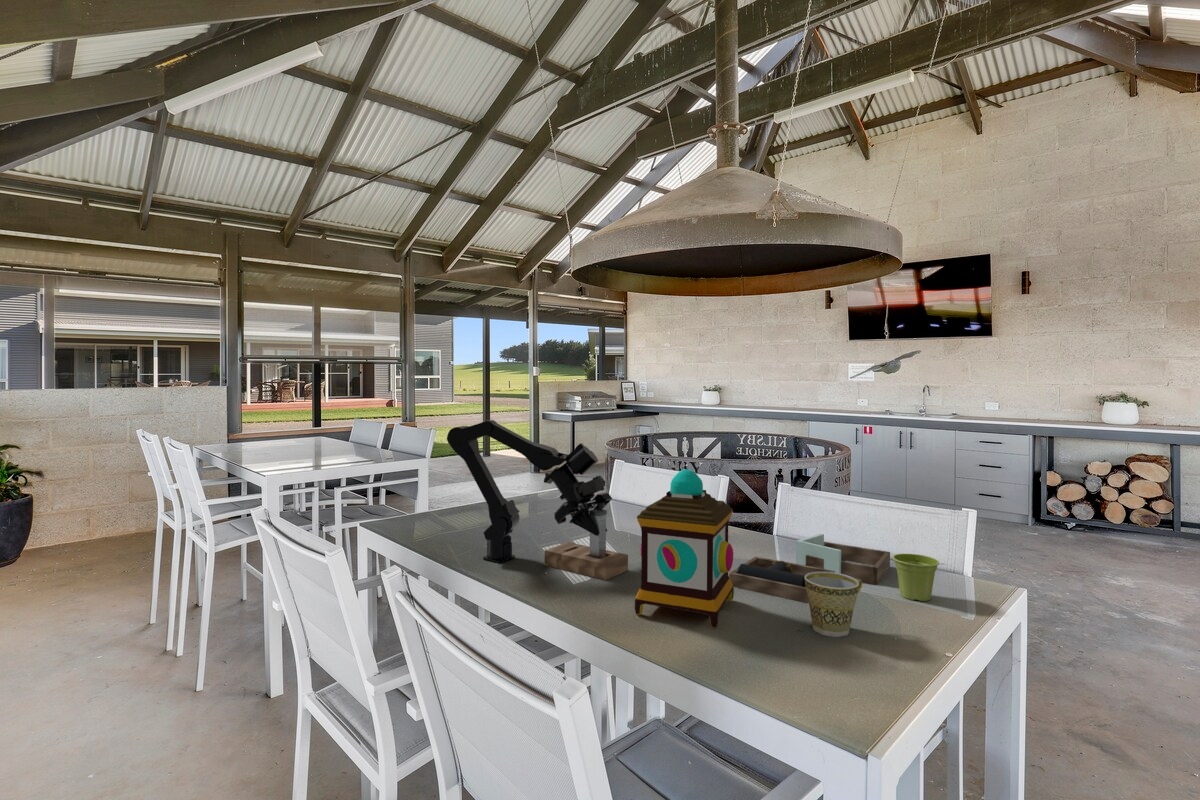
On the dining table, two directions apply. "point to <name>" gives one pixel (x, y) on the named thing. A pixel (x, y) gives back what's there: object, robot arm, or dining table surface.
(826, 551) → the l-shaped corner panel
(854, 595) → the ceramic cup
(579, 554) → the bit block
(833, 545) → the brown shallow square box
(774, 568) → the pipe connector
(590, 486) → the robot arm
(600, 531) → the block
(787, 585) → the wooden tray
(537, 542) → the dining table surface
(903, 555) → the plant pot
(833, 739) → the dining table surface
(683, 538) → the decorative lantern
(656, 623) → the dining table surface
